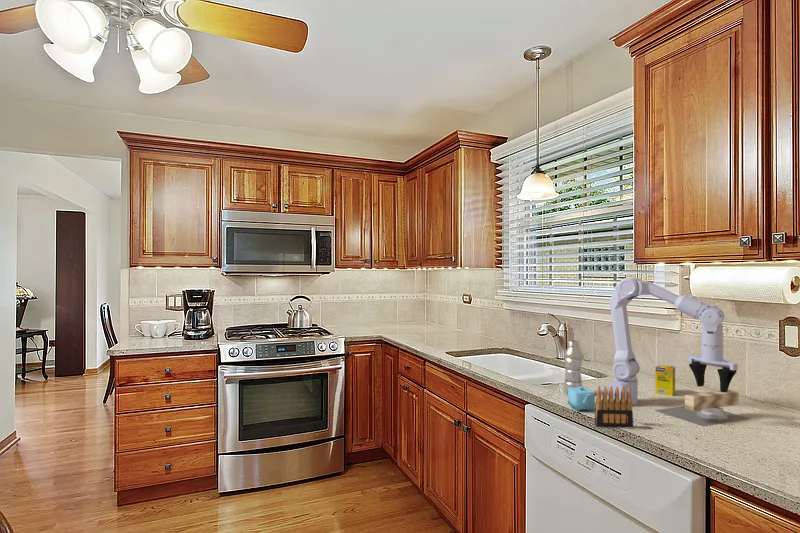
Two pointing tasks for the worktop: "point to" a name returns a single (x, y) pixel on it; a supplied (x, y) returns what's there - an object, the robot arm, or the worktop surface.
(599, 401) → the ammunition clip
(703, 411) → the steel ridge
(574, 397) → the teapot
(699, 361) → the robot arm
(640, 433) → the worktop surface
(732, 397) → the maple batten
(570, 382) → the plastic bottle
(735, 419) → the charcoal board
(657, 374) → the supplement box
